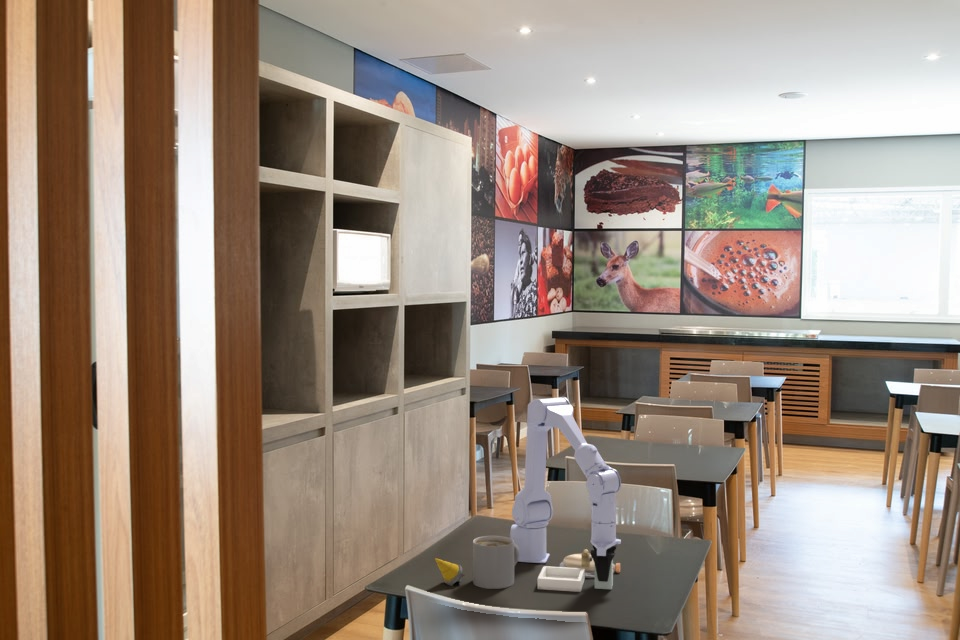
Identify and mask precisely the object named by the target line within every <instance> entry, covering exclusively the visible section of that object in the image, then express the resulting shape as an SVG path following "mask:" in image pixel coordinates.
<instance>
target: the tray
mask: <svg viewBox="0 0 960 640" xmlns="http://www.w3.org/2000/svg"><path fill="white" fill-rule="evenodd" d="M585 579H586V578H585V568H568V567H560V566H549V565H548V566H547V565H544V566H543V567H542V568H541V570H540V572H539V574H538V576H537V590H547V591H562V592H577V593H581V591H582V589H583V586H584V582H585Z"/></svg>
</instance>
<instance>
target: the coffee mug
mask: <svg viewBox="0 0 960 640" xmlns="http://www.w3.org/2000/svg"><path fill="white" fill-rule="evenodd" d="M518 558H519V549H518V546H517V545H516V544H514V540H513V539H511V538H510V536H509V537H508V536H505V535H484V536H479V537H475V538H474V539H473V541H472V583H473V585H474V586H476V587H479V588H481V589H487V590H488V589H489V590H492V589H493V590H494V589H495V590H496V589H498V590H500V589H506V588H510V587H511V586H513V585H514V584H515V567H516V566H517V563H519V562H518Z"/></svg>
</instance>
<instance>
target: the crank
mask: <svg viewBox="0 0 960 640" xmlns="http://www.w3.org/2000/svg"><path fill="white" fill-rule="evenodd" d="M563 561H564V566H565V567H568V568H585V572H595V563H594V561H593V558H592V557H591V554H590V552H589V550H588V549H587V548H585V549H583V551H582V552H581V553H573V554H569V555H566V556H565V557H564V558H563Z"/></svg>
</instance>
